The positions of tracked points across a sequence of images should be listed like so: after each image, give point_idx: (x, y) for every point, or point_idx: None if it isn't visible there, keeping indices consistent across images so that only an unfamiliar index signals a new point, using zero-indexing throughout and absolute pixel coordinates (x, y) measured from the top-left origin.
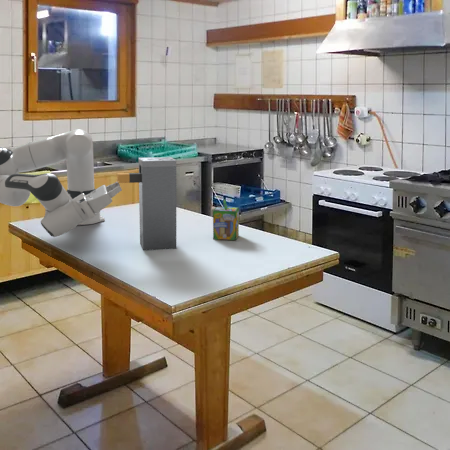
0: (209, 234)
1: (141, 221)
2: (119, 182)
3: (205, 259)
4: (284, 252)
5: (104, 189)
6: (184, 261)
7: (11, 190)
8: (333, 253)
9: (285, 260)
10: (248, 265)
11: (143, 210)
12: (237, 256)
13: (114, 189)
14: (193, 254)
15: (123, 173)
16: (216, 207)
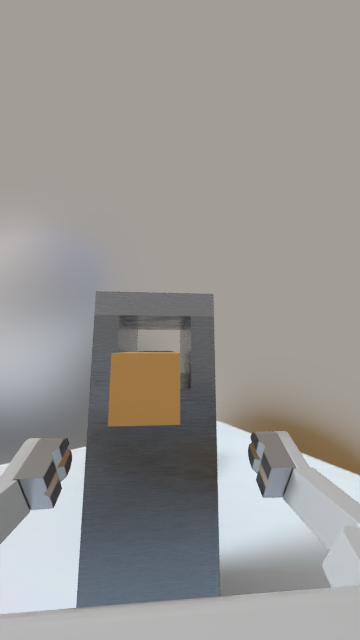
0: None
1: (164, 598)
2: (179, 416)
3: (281, 518)
4: (217, 440)
5: (217, 638)
6: (320, 565)
7: None
8: (218, 421)
9: None
10: None
11: (217, 514)
12: (245, 475)
13: (325, 479)
14: (247, 536)
15: (137, 352)
16: None
